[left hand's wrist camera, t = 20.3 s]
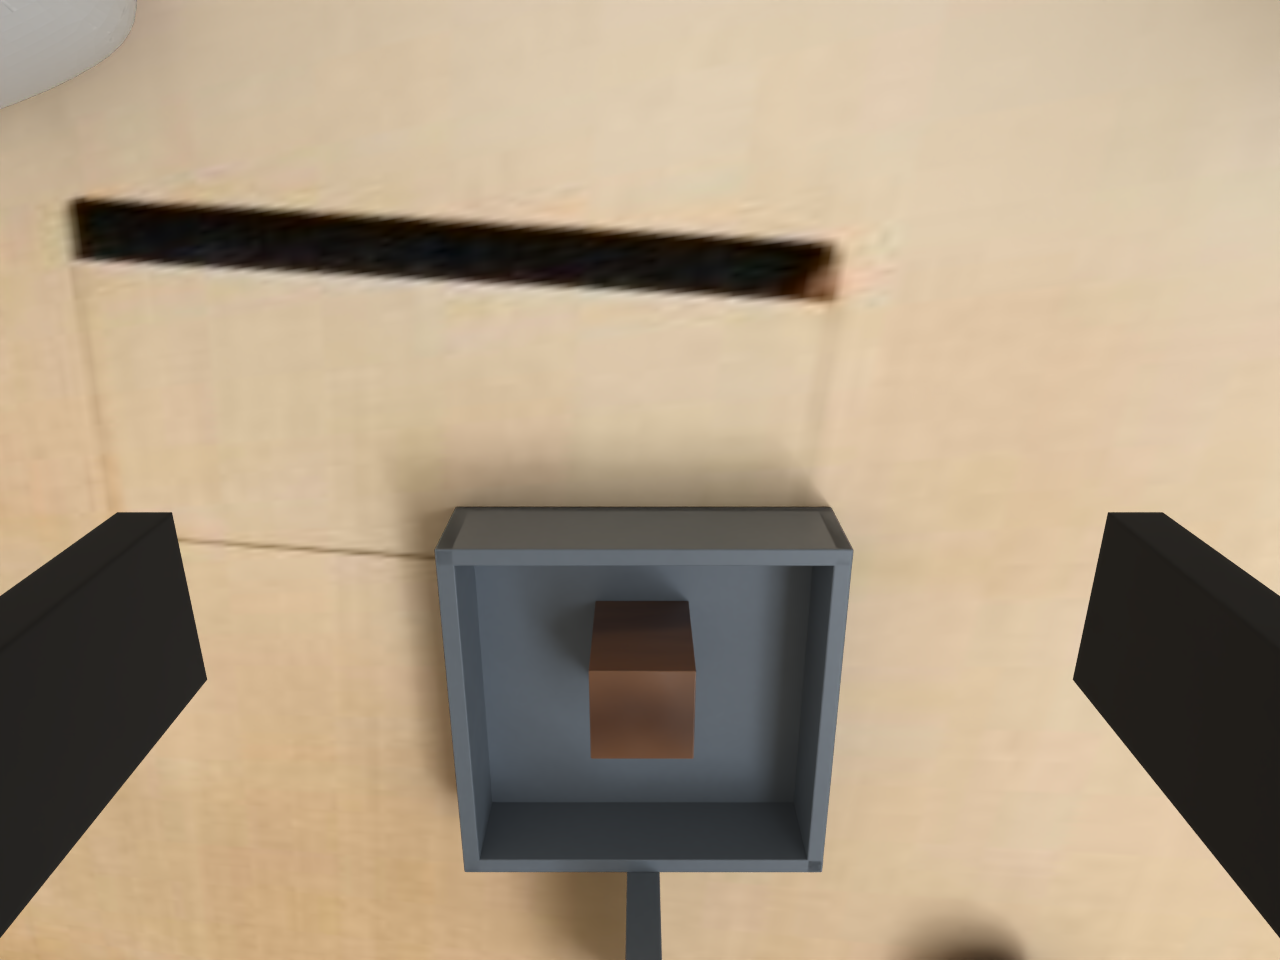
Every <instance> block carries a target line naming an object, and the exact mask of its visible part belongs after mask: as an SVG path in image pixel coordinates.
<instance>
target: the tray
mask: <svg viewBox="0 0 1280 960" xmlns="http://www.w3.org/2000/svg"><path fill="white" fill-rule="evenodd" d="M852 559H853V548H852V546H851V545H850V543H849V541H848V539H847V537H846V535H845V533H844V531H843V529H842V527H841V525H840V523H839V521H838V519H837V518H836V516H835V514H834V512H833V510H832V508H831V507H456V508H455V510H454V512H453V514H452V516H451V518H450V520H449V522H448V524H447V526H446V528H445V530H444V532H443V534H442V536H441V538H440V540H439V542H438V544H437V546H436V548H435V560H436V571H437V582H438V592H439V603H440V614H441V624H442V635H443V646H444V657H445V667H446V678H447V689H448V699H449V710H450V721H451V731H452V742H453V753H454V763H455V774H456V785H457V796H458V806H459V817H460V828H461V838H462V849H463V860H464V870H465V872H627V903H626V959H625V960H662V948H661V911H660V873H659V872H822V866H823V854H824V844H825V834H826V824H827V814H828V803H829V793H830V783H831V773H832V763H833V752H834V742H835V732H836V722H837V712H838V701H839V691H840V681H841V671H842V661H843V650H844V640H845V630H846V620H847V610H848V599H849V589H850V579H851V569H852ZM596 601H689V608H690V617H691V627H692V636H693V646H694V655H695V664H696V698H695V732H694V758H693V759H591V754H590V712H589V662H590V651H591V641H592V631H593V620H594V610H595V602H596Z"/></svg>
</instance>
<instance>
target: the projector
mask: <svg viewBox="0 0 1280 960" xmlns="http://www.w3.org/2000/svg"><path fill="white" fill-rule="evenodd" d="M136 8H137V0H0V109H2V108H4V107H7V106H10V105H13V104H15V103H18V102H20V101H23V100H25V99H28V98H30V97H33V96H35V95H37V94H40V93H42V92H45V91H47V90H49V89H51V88H53V87H56V86H58V85H60V84H62V83H64V82H66V81H68V80H70V79H72V78H74V77H76V76H78V75H80V74H81V73H83V72H85V71H87V70H88V69H90V68H92V67H93V66H95V65H97V64H98V63H100V62H101V61H102V60H104V59H105V58H107V57H108V56H110V55H111V54H112V53H113V52H114V51H115V50H116V49H117V48H118V47H119V46H120V45H121V44H122V43H123V42H124V40H125V39H126V37H127V36H128V34H129V33H130V31H131V28H132V26H133V23H134V20H135V14H136Z"/></svg>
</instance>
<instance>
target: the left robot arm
mask: <svg viewBox="0 0 1280 960" xmlns="http://www.w3.org/2000/svg"><path fill="white" fill-rule="evenodd" d="M206 680H207V677H206V672H205V667H204V662H203V658H202V653H201V648H200V643H199V639H198V634H197V629H196V624H195V620H194V615H193V610H192V605H191V601H190V596H189V591H188V586H187V582H186V577H185V572H184V567H183V563H182V558H181V553H180V548H179V544H178V539H177V534H176V529H175V525H174V520H173V515H172V512H117V513H116V514H114V515H113V516H112V517H110V518H109V519H107V520H106V521H105V522H103V523H102V524H100V525H99V526H98V527H96V528H95V529H93V530H92V531H91V532H89V533H88V534H86V535H85V536H84V537H82V538H81V539H79V540H78V541H77V542H75V543H74V544H72V545H71V546H70V547H68V548H67V549H66V550H64V551H63V552H61V553H60V554H59V555H57V556H56V557H54V558H53V559H52V560H50V561H49V562H47V563H46V564H45V565H43V566H42V567H40V568H39V569H38V570H36V571H35V572H33V573H32V574H31V575H29V576H28V577H26V578H25V579H24V580H22V581H21V582H19V583H18V584H17V585H15V586H14V587H12V588H11V589H10V590H8V591H7V592H5V593H4V594H3V595H1V596H0V938H1V936H2V935H3V934H4V933H5V931H6V930H7V929H8V928H9V926H10V925H11V924H12V923H13V921H14V920H15V919H16V918H17V916H18V915H19V914H20V913H21V911H22V910H23V909H24V908H25V906H26V905H27V904H28V903H29V901H30V900H31V899H32V898H33V896H34V895H35V894H36V893H37V891H38V890H39V889H40V888H41V886H42V885H43V884H44V883H45V881H46V880H47V879H48V878H49V876H50V875H51V874H52V873H53V871H54V870H55V869H56V868H57V866H58V865H59V864H60V863H61V861H62V860H63V859H64V858H65V856H66V855H67V854H68V853H69V851H70V850H71V849H72V848H73V846H74V845H75V844H76V843H77V841H78V840H79V839H80V838H81V836H82V835H83V834H84V833H85V831H86V830H87V829H88V828H89V826H90V825H91V824H92V823H93V821H94V820H95V819H96V818H97V816H98V815H99V814H100V813H101V811H102V810H103V809H104V808H105V806H106V805H107V804H108V803H109V801H110V800H111V799H112V798H113V796H114V795H115V794H116V793H117V791H118V790H119V789H120V788H121V786H122V785H123V784H124V783H125V781H126V780H127V779H128V778H129V776H130V775H131V774H132V773H133V771H134V770H135V769H136V768H137V766H138V765H139V764H140V763H141V761H142V760H143V759H144V758H145V756H146V755H147V754H148V753H149V751H150V750H151V749H152V748H153V746H154V745H155V744H156V743H157V741H158V740H159V739H160V738H161V736H162V735H163V734H164V733H165V731H166V730H167V729H168V728H169V726H170V725H171V724H172V723H173V721H174V720H175V719H176V718H177V717H178V715H179V714H180V713H181V712H182V710H183V709H184V708H185V707H186V705H187V704H188V703H189V702H190V700H191V699H192V698H193V697H194V695H195V694H196V693H197V692H198V690H199V689H200V688H201V687H202V685H203V684H204V683H205V682H206ZM1073 680H1074V682H1075V683H1076V684H1077V685H1078V687H1079V688H1080V689H1081V690H1082V692H1083V693H1084V694H1085V695H1086V697H1087V698H1088V699H1089V700H1090V702H1091V703H1092V704H1093V705H1094V707H1095V708H1096V709H1097V710H1098V712H1099V713H1100V714H1101V715H1102V717H1103V718H1104V719H1105V720H1106V722H1107V723H1108V724H1109V725H1110V726H1111V728H1112V729H1113V730H1114V731H1115V733H1116V734H1117V735H1118V736H1119V738H1120V739H1121V740H1122V741H1123V743H1124V744H1125V745H1126V746H1127V748H1128V749H1129V750H1130V751H1131V753H1132V754H1133V755H1134V756H1135V758H1136V759H1137V760H1138V761H1139V763H1140V764H1141V765H1142V766H1143V768H1144V769H1145V770H1146V771H1147V773H1148V774H1149V775H1150V776H1151V778H1152V779H1153V780H1154V781H1155V783H1156V784H1157V785H1158V786H1159V788H1160V789H1161V790H1162V791H1163V793H1164V794H1165V795H1166V796H1167V798H1168V799H1169V800H1170V801H1171V803H1172V804H1173V805H1174V806H1175V808H1176V809H1177V810H1178V811H1179V813H1180V814H1181V815H1182V816H1183V818H1184V819H1185V820H1186V821H1187V823H1188V824H1189V825H1190V826H1191V828H1192V829H1193V830H1194V831H1195V833H1196V834H1197V835H1198V836H1199V838H1200V839H1201V840H1202V841H1203V843H1204V844H1205V845H1206V846H1207V848H1208V849H1209V850H1210V851H1211V853H1212V854H1213V855H1214V856H1215V858H1216V859H1217V860H1218V861H1219V863H1220V864H1221V865H1222V866H1223V868H1224V869H1225V870H1226V871H1227V873H1228V874H1229V875H1230V876H1231V878H1232V879H1233V880H1234V881H1235V883H1236V884H1237V885H1238V886H1239V888H1240V889H1241V890H1242V891H1243V893H1244V894H1245V895H1246V896H1247V898H1248V899H1249V900H1250V901H1251V903H1252V904H1253V905H1254V906H1255V908H1256V909H1257V910H1258V911H1259V913H1260V914H1261V915H1262V916H1263V918H1264V919H1265V920H1266V921H1267V923H1268V924H1269V925H1270V926H1271V928H1272V929H1273V930H1274V931H1275V933H1276V934H1277V935H1278V936H1279V938H1280V596H1279V595H1277V594H1276V593H1275V592H1273V591H1272V590H1270V589H1269V588H1268V587H1266V586H1265V585H1263V584H1262V583H1261V582H1259V581H1258V580H1256V579H1255V578H1254V577H1252V576H1251V575H1249V574H1248V573H1247V572H1245V571H1244V570H1242V569H1241V568H1240V567H1238V566H1237V565H1235V564H1234V563H1233V562H1231V561H1230V560H1228V559H1227V558H1226V557H1224V556H1223V555H1221V554H1220V553H1219V552H1217V551H1216V550H1214V549H1213V548H1212V547H1210V546H1209V545H1208V544H1206V543H1205V542H1203V541H1202V540H1201V539H1199V538H1198V537H1196V536H1195V535H1194V534H1192V533H1191V532H1189V531H1188V530H1187V529H1185V528H1184V527H1182V526H1181V525H1180V524H1178V523H1177V522H1175V521H1174V520H1173V519H1171V518H1170V517H1168V516H1167V515H1166V514H1164V513H1163V512H1108V515H1107V520H1106V525H1105V529H1104V534H1103V539H1102V544H1101V548H1100V553H1099V558H1098V563H1097V567H1096V572H1095V577H1094V582H1093V586H1092V591H1091V596H1090V601H1089V605H1088V610H1087V615H1086V620H1085V624H1084V629H1083V634H1082V639H1081V643H1080V648H1079V653H1078V658H1077V662H1076V667H1075V672H1074V677H1073Z"/></svg>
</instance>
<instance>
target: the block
mask: <svg viewBox="0 0 1280 960" xmlns="http://www.w3.org/2000/svg"><path fill="white" fill-rule="evenodd" d="M695 698H696V664H695V655H694V646H693V636H692V627H691V617H690V608H689V601H596V602H595V610H594V620H593V631H592V641H591V651H590V662H589V712H590V754H591V759H693V758H694V732H695Z"/></svg>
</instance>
